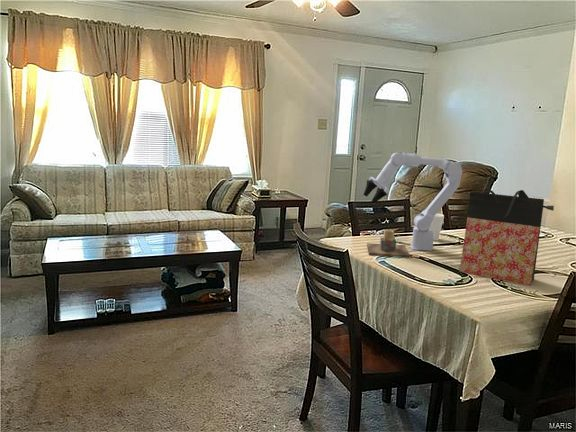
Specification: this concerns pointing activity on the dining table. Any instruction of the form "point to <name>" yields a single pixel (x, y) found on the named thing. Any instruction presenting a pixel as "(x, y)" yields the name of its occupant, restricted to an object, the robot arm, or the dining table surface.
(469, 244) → the gift bag
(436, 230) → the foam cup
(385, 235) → the post
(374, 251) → the stand base
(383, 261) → the dining table surface
